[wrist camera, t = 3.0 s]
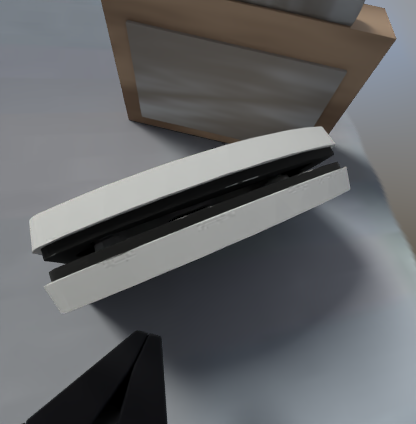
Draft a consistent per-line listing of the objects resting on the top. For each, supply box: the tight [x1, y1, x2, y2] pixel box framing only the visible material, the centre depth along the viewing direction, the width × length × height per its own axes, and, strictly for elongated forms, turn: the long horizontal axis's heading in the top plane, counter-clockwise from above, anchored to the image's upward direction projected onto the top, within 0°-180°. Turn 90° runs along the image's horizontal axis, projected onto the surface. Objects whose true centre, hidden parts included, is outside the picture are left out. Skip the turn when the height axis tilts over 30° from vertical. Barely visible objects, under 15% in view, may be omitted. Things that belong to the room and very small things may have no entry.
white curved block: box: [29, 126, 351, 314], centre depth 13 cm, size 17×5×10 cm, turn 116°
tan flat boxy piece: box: [101, 0, 396, 144], centre depth 17 cm, size 4×17×11 cm, turn 77°
